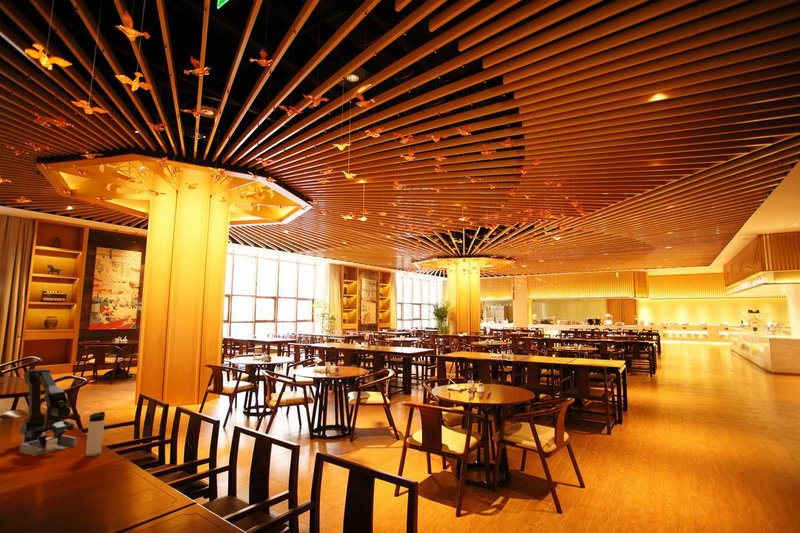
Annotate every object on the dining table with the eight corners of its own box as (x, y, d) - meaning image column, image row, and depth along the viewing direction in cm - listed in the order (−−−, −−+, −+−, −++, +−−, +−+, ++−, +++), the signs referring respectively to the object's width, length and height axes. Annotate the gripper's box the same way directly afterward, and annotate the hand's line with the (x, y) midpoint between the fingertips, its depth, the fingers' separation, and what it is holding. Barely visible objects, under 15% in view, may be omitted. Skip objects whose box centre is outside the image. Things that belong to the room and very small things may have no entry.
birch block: (41, 449, 211) (42, 439, 211) (51, 447, 215) (52, 437, 216) (46, 450, 209) (47, 440, 210) (56, 448, 213) (57, 438, 214)
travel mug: (104, 453, 208) (108, 412, 211) (93, 457, 202) (98, 414, 205) (93, 452, 209) (97, 411, 212) (82, 456, 203) (86, 414, 205)
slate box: (19, 453, 206) (20, 443, 207) (61, 443, 223) (62, 434, 224) (34, 456, 201) (35, 447, 202) (75, 446, 218) (76, 437, 219)
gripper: (40, 421, 202) (36, 454, 200) (82, 413, 219) (78, 444, 217) (27, 419, 207) (23, 451, 205) (69, 411, 224) (66, 441, 222)
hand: (49, 447), depth 212 cm, fingers closed on birch block, 4 cm apart
